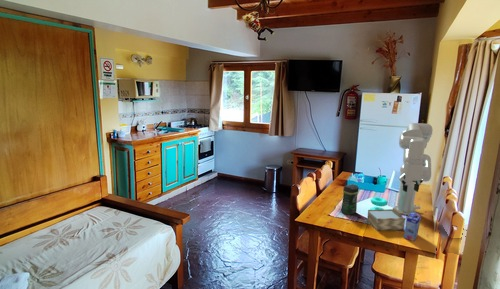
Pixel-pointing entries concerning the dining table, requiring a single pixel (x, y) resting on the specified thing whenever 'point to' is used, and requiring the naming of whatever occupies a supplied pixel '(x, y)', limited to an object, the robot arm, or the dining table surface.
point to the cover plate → (386, 214)
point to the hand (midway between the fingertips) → (410, 190)
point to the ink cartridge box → (412, 226)
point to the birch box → (386, 222)
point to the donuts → (378, 203)
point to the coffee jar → (350, 199)
